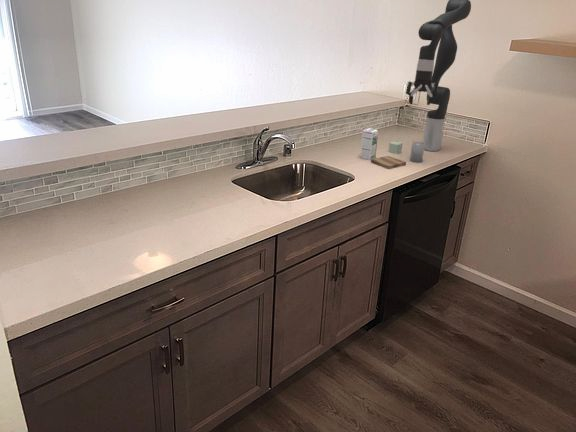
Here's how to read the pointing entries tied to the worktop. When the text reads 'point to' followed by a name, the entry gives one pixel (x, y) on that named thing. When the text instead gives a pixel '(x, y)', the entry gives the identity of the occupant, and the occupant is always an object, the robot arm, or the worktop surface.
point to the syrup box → (369, 143)
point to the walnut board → (388, 162)
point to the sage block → (395, 147)
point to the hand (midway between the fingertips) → (419, 104)
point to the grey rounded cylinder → (417, 152)
